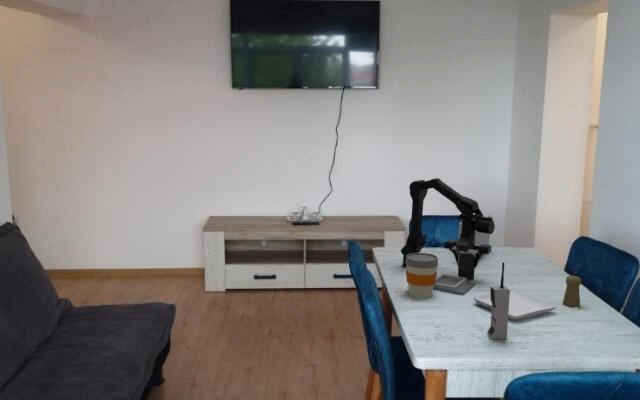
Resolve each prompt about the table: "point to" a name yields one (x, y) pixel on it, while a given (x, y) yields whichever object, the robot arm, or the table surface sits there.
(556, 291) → the table surface
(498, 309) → the vintage mobile phone
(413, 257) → the reusable coffee cup
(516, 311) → the salad plate
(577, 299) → the cork
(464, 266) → the battery charger
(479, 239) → the game console
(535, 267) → the table surface
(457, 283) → the charging dock
